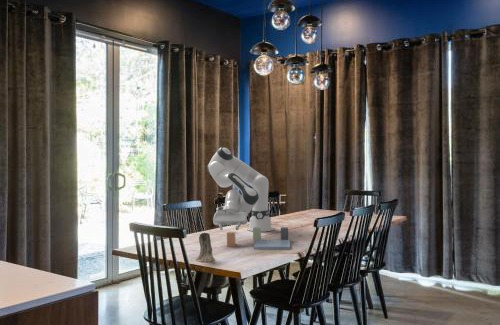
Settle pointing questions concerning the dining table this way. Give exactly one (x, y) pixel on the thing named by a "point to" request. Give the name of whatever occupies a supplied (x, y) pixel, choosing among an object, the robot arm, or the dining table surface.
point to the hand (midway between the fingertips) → (229, 229)
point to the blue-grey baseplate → (272, 244)
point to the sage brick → (256, 233)
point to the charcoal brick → (284, 233)
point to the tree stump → (205, 248)
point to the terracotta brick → (231, 239)
